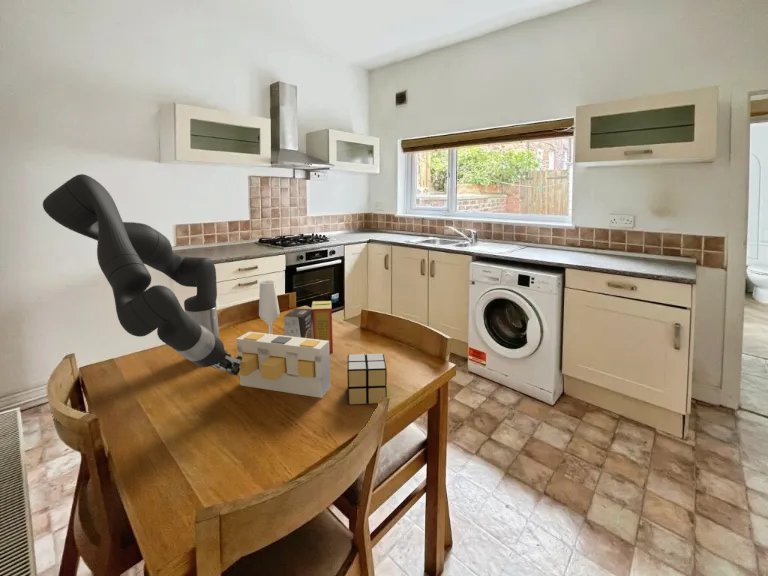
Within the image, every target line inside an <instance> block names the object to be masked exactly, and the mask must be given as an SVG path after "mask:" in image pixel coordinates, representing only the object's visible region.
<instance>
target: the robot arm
mask: <svg viewBox="0 0 768 576" xmlns="http://www.w3.org/2000/svg"><path fill="white" fill-rule="evenodd" d="M42 208H43V210H44V212H45V213H46V214H47V215H48V216H49V217H50V218H51V219H52V220H53V221H55V222H56V223H58V224H59V225H61V226H63V227H64V228H66V229H69V230H70V231H73V232H75V233H77V234H80V235H82V236H84V237H88V238H89V239H91V240H92V239H93V240H94V241H97V245H96V247H97V248H96V256H97V263H98V265H99V268H100V270H101V272H102V274H103V275H104V277H105V278H106V280H107V282H108V284H109V285H110V287H111V289H112V294H113V298H114V304H115V311H116V316H117V319H118V321H119V323H120V325H121V327H122V328H123V329H124V330H125V332H127V333H128V334H129V335H132V336H135V337H139V338H141V337H145V336H148V335H149V334H151V333H153V332H155V331H156V334H157V336H158V339H159V340H160V341H161V342H163V343H164V344H165V345H167V346H169V347H170V348H172V349H173V350H175V351H176V352H177V353H179V355H181V356H182V357H184V358H185V359H186V360H188V361H190V362H192V363H193V364H195V365H196V366H198V367H200V368H210V367H211V368H214V369H216V370H217V369H220V370H221V371H224V372H227V373H228V374H230V375H232V376H239V375H238V373H239V370H240V368H239V366H240V363H241V361H242V357H241V356H238V355H237V356H235V357H234V356H233V357H232V354H231V353H229V352H228V351H227V350H225V346H224V343H223V341H222V340H221V339H220V331H219V330H220V329H219V321H218V310H217V299H218V292H217V291H218V290H217V289H218V285H217V270H216V269H217V268H216V265H215V263H214V261H213V260H212V259H210V258H208V257H194V256H192V257H191V256H183V255H181V254H179V253H177V252H175V251H173V247H172V244H171V241H170V240H169V239H168V238H167V237H166V236H165V235H164V234H163V233H161V232H160V231H158V230H157V229H155V228H153V227H152V226H150V225H148V224H145V223H141V222H133V221H131V222H130V221H129V222H128V221H123V219H122V217H121V214H120V211H119V210H118V207H117V205H116V203H115V200H114V199H113V197H112V195H111V194H110V193H109V191H108V190H107V189H106V187H104V186H103V185H102V184H101V183H100V182H99V181H97V180H96V179H95V178H93V177H92V176H89V175H87V174H83V173H81V174H76V175H75V176H73V177H71V178H70V179H69V180H67V181H65V182H64V183H63V184H62V185H60V186H59V187H58V188H56V189H55V190H53V191H52V192H51V193H50V194H48V195H47V196H46V197H45V198H44V199H43V201H42ZM146 266H148V267H150V268H152V269H154V270H156V271H159V272H161V273H162V274H164V275H166V277H169V279H171V280H172V281H174V282H176V283H177V284H179V285H180V286H183V287H189V288H196V295H193V296H190V297H188V298H186V299H185V300H183V307H184V308H183V307H182V305H181V303H180V300H179V299H178V297H177V295H176V294H175V293H174V292H173V290H172V289H170V287H167V286H164V285H161V284H160V285H159V284H158V285H157V284H155V285H153V286H150V285H151V284H152V283H151V282H152V276H151V274H150V272H149V270H148V268H147V267H146ZM149 286H150V287H149Z"/></svg>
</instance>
